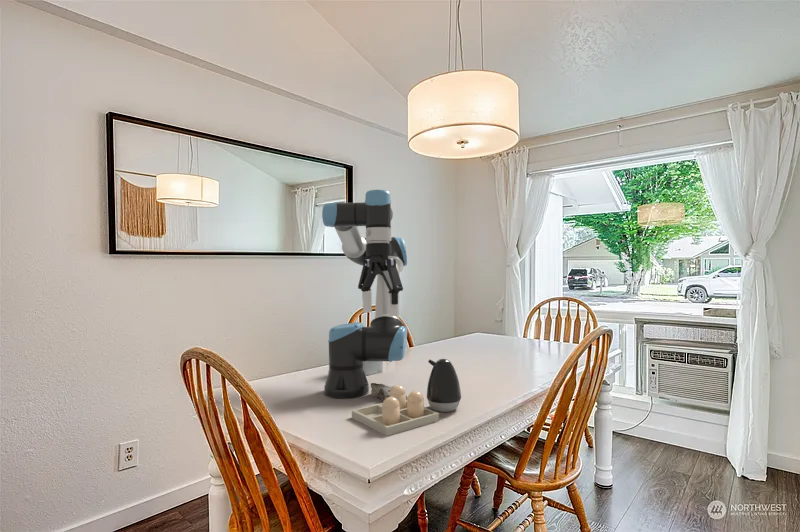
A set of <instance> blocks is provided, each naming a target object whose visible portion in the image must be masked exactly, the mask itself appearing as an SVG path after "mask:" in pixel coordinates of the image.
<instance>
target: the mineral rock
mask: <svg viewBox="0 0 800 532" xmlns="http://www.w3.org/2000/svg"><path fill="white" fill-rule="evenodd" d="M392 387H393V386H388V385H386V384H383V383H377V382H372V383H370V388H371V391H370V393H371V394H370V395H371V396H372V397H378V399H380V400H381V401H382V402H383V401H384V400H385V399H386V398H388V397H390V390H391V388H392ZM407 397H408V395H406V401H407Z"/></svg>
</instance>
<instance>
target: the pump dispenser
mask: <svg viewBox="0 0 800 532" xmlns="http://www.w3.org/2000/svg"><path fill="white" fill-rule="evenodd" d="M428 364H430V365H431V366H432V369H431V372H430V375H429V377H428V380H427V381H428V382H427V388H426V399H427V401H428V405H429V406H430V408H431V410H432V411H435V412H437V413H451V412H453V411H455V410H456V409H457V408H458V407H459V406H460V403H461V399H462V392H461V386H460V385H461V384H460V380H459V377H458V374H457V370H456V369H455V367H454V365H453V364H452V362H451V361H450V360H449V359H447V358H440V359H438V360H436V362H435V361H433V360H432V359H428Z"/></svg>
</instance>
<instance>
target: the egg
mask: <svg viewBox="0 0 800 532" xmlns="http://www.w3.org/2000/svg"><path fill="white" fill-rule="evenodd" d="M382 403H383V404H382V422H383V424H384V425H386V426H390V425H394V424H397V423H400V404H399V401H398V400H397V399H396V398H394V397H388V398H386V399H385V400H384V401H382Z"/></svg>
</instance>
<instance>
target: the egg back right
mask: <svg viewBox="0 0 800 532" xmlns="http://www.w3.org/2000/svg"><path fill="white" fill-rule="evenodd" d="M406 401H407V416H408V417H410V418H412V419H415V418H419V417H423V416H424V408H425V400H424V395H423V393H421V392H420V391H418V390H413V391H411V392H410V393H408V395H407V400H406Z"/></svg>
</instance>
